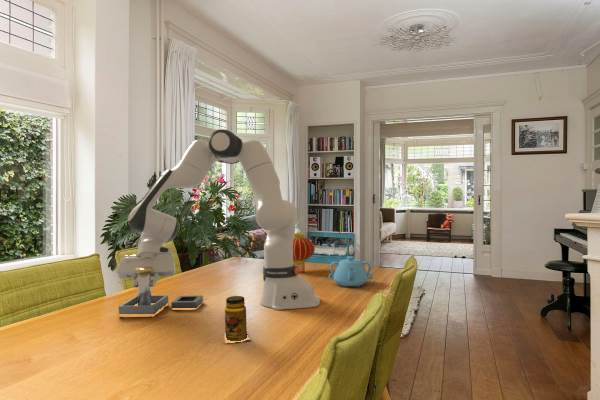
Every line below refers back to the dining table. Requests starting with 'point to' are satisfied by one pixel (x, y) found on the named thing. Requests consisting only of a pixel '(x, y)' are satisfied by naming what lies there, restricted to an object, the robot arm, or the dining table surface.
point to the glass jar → (144, 285)
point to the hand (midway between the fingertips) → (144, 286)
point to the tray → (143, 309)
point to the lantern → (301, 249)
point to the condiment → (235, 319)
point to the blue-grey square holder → (187, 301)
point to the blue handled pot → (350, 272)
